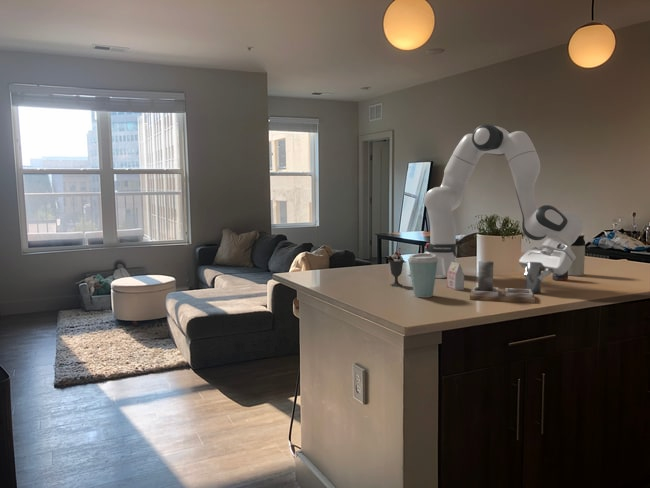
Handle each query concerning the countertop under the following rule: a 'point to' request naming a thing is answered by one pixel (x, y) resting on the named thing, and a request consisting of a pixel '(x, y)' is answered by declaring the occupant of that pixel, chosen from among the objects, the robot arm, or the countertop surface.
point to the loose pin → (533, 277)
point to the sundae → (396, 266)
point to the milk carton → (455, 277)
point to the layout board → (493, 294)
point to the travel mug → (578, 257)
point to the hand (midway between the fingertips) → (532, 277)
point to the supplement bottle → (560, 276)
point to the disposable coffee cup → (423, 273)
